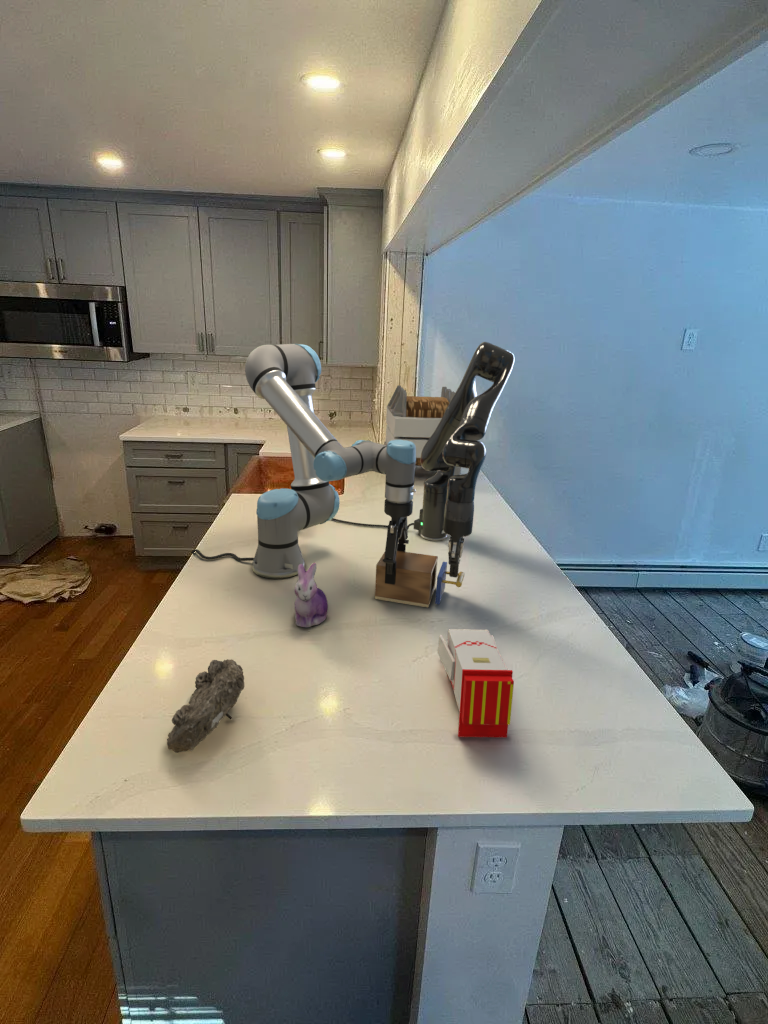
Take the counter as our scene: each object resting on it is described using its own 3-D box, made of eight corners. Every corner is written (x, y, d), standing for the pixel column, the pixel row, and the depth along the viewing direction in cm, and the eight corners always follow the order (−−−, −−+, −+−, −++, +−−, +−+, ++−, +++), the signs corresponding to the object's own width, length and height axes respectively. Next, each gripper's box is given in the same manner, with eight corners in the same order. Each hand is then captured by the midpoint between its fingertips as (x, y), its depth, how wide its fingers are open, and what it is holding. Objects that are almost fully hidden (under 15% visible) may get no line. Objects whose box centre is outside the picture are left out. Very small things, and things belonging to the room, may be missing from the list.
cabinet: (435, 588, 162) (437, 556, 158) (428, 607, 151) (431, 573, 148) (384, 581, 165) (386, 549, 162) (374, 598, 155) (376, 565, 151)
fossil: (192, 660, 117) (244, 628, 112) (224, 691, 120) (276, 661, 115) (142, 746, 98) (202, 712, 93) (182, 779, 101) (242, 748, 96)
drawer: (463, 590, 159) (465, 564, 156) (458, 607, 150) (461, 580, 147) (398, 580, 163) (399, 555, 160) (390, 596, 154) (391, 569, 151)
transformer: (382, 463, 289) (386, 382, 275) (445, 464, 293) (451, 384, 279) (390, 482, 257) (394, 392, 243) (460, 483, 261) (468, 394, 247)
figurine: (299, 632, 137) (299, 576, 132) (286, 613, 145) (285, 559, 140) (336, 624, 141) (336, 570, 136) (320, 605, 149) (321, 553, 144)
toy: (488, 613, 130) (523, 677, 101) (484, 667, 133) (517, 744, 104) (435, 612, 130) (455, 676, 101) (432, 666, 133) (451, 743, 103)
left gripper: (403, 515, 138) (398, 595, 145) (421, 488, 160) (416, 558, 167) (373, 512, 140) (370, 591, 147) (395, 485, 161) (391, 555, 169)
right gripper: (470, 525, 140) (464, 588, 146) (475, 509, 152) (469, 567, 158) (440, 522, 142) (435, 584, 147) (447, 506, 154) (443, 564, 160)
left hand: (394, 574), depth 157 cm, fingers closed on cabinet, 11 cm apart
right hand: (453, 575), depth 153 cm, fingers closed
